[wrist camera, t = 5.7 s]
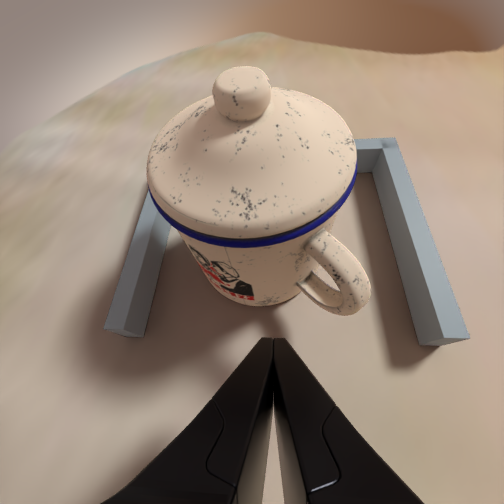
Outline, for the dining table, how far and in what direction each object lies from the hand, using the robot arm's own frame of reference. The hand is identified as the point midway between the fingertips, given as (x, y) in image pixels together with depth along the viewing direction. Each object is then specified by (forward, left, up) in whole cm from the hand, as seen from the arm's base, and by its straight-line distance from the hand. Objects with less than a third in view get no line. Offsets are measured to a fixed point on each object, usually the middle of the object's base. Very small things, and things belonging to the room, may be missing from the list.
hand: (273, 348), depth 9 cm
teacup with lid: (+6, +3, -7) cm, 9 cm away
